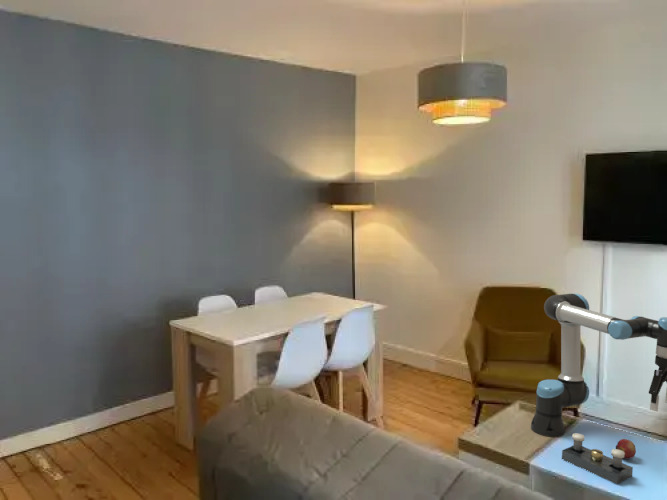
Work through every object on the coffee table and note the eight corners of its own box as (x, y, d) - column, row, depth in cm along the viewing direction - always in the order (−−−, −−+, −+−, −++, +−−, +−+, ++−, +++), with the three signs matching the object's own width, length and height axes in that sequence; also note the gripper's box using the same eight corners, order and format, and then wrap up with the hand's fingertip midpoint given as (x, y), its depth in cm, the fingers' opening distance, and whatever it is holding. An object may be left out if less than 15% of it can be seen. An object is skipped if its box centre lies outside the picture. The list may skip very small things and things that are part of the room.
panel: (561, 459, 233) (562, 450, 233) (576, 452, 239) (577, 444, 239) (617, 484, 213) (618, 474, 213) (632, 476, 220) (632, 467, 219)
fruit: (634, 464, 230) (636, 446, 229) (614, 459, 234) (615, 441, 233) (635, 457, 237) (637, 439, 236) (615, 452, 241) (617, 434, 240)
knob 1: (569, 447, 233) (570, 434, 233) (575, 445, 236) (576, 432, 235) (579, 452, 230) (580, 438, 229) (585, 449, 232) (586, 436, 232)
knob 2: (608, 464, 219) (609, 450, 219) (614, 461, 222) (615, 448, 221) (619, 469, 216) (620, 455, 215) (625, 466, 218) (626, 452, 218)
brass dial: (588, 457, 226) (589, 450, 226) (594, 455, 229) (595, 447, 229) (598, 462, 223) (599, 454, 223) (604, 459, 225) (605, 451, 225)
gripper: (662, 363, 211) (657, 416, 213) (689, 353, 226) (684, 403, 228) (642, 358, 217) (637, 410, 219) (670, 349, 232) (665, 397, 234)
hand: (661, 406), depth 224 cm, fingers open, 13 cm apart
